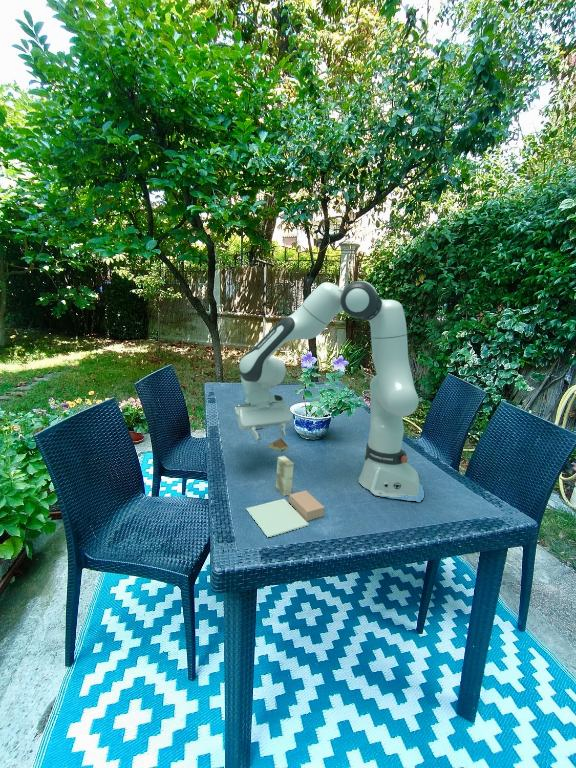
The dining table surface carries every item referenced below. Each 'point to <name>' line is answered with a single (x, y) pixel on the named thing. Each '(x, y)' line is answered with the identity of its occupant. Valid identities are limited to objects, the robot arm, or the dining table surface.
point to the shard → (278, 445)
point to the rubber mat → (276, 517)
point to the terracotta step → (306, 505)
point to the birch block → (284, 475)
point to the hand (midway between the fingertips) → (271, 437)
